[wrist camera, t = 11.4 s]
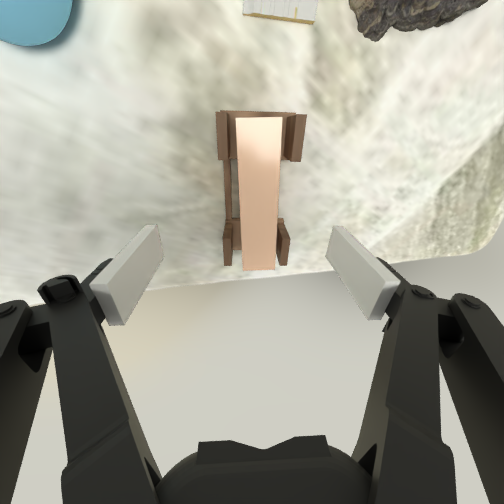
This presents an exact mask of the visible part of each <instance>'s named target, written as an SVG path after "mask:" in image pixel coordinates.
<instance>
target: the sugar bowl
mask: <svg viewBox="0 0 504 504" xmlns="http://www.w3.org/2000/svg"><path fill="white" fill-rule="evenodd" d="M72 1H73V0H0V40H2V41H5V42H8V43H11V44H16V45H21V46H34V45H40V44H44V43H47V42H49V41H51V40H52V39H54V38H55V37H56V36H58V35H59V34H60V33H61V31H62V30H63V28H64V27H65V25H66V23H67V21H68V19H69V16H70V12H71V8H72Z"/></svg>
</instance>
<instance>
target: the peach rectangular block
mask: <svg viewBox="0 0 504 504" xmlns="http://www.w3.org/2000/svg"><path fill="white" fill-rule="evenodd" d="M236 136H237V157H238V178H239V199H240V220H241V241H242V262H243V271H247V270H275V257H276V237H277V217H278V197H279V177H280V157H281V137H282V117H253V118H236Z"/></svg>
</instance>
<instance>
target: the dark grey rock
mask: <svg viewBox="0 0 504 504" xmlns="http://www.w3.org/2000/svg"><path fill="white" fill-rule="evenodd" d="M487 1H488V0H350V9H351V10H353V11H354V13H355V14H356V16H357V19H358V30H359V32H361V33H363V35H364V37H365V38H370V39H371V41H375V42H377V41H379V40H380V39H381V38H382V37H383V36H384V34H385V33H386V32H387V30H388V28H389V27H390V26H393V28H395V29H398V30H399V31H404V32H407V31H413V30H415V29H416V28H419V29H421V30H424V29H426V28H430V27H433V26H436V27H439V26H441V25H443V24H444V23H445V22H450V21H453V20H454V19H456V18H457V17H459V16H460V15H461V14H462V13H463V11H468V10H471V9H473V8H478V7H480V6H481V5H483V4H484V3H486V2H487Z"/></svg>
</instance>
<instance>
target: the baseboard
mask: <svg viewBox="0 0 504 504" xmlns="http://www.w3.org/2000/svg"><path fill="white" fill-rule="evenodd" d="M317 5H318V0H243V15H247V16H255V17H262V18H270V19H277V20H284V21H292V22H299V23H307V24H313V23H314V22H315V17H316V11H317Z"/></svg>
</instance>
